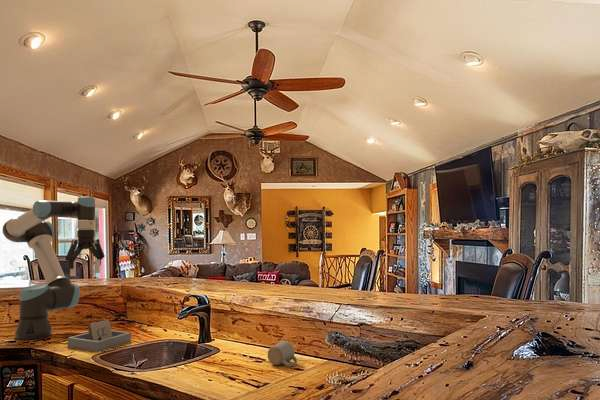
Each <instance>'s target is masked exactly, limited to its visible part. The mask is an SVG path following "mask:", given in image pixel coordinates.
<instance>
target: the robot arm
mask: <svg viewBox="0 0 600 400" xmlns="http://www.w3.org/2000/svg"><path fill="white" fill-rule="evenodd" d="M50 218H77V219H76V220H77V222H76V223H77V226H76V227H77V228H76V229H78V230H77V232H76V233H77V235H76V237H77V239H72V240H71V244H70V247H69V249H68V250H67V254H66V256H65V258H64V260H65V261H66V262H68V268H69V271H70V273H69V276H70V277H76V275H77V271H76V270H77V262H76V259H77V258H78V256H79V255H80V253H81V252H82V251H83V250H90V252H91V253H92V255H93V256H94V258H95V259H94V274H100V273H101V266H102V265H101V263H102V260H103V259H104V258H105V254H104V251H103V247H102V246H101V243H100V241H101V240H100V239H99V238H95V235H96V234H95V233H96V232H95V227H96V224H95V223H96V222H95V220H96V219H95V218H96V198H95V197H94V196H78V198H77V201H76V200H75V201H71V200H69V201H67V200H46V199H45V200H44V199H43V200H36V201H34V203H33V204H32V208H31V209H29V210H28V211H26V212H25V213H23V214H21V215H20V216H18V217H13V218H10V219H8V220H7V221H6V222H5V223H4V224H3V225H2V234H3V236H4V238H6V239H7V240H8V241H10V242H14V243H27V246H28V247H29V248H30V249H32V250H33V252H34V254H35V257H36V259H37V261H38V264H39V267H40V270H41V272H42V275H43V278H44V279H45V280H44V281H45V282H46V283H43V284H42V283H40V284H33V285H30V286H26V287H24V288H22V289H21V290H20V291H19V292H20V293H19V300H18V301H19V321H18V324H17V327H16V329H15V331H14V339H15V340H19V341H20V340H21V341H24V340H26V341H28V340H29V341H30V340H36V339H38V340H39V339H43V338H47V337H50V336H51V335H52V334H53V333H52V331H53V329H52V327H51V324H50V321H49V318H48V317H49V316H48V315H49V312H52V311H57V310H58V311H59V310H63V309H69V308H73V307H76V306H77V304H78V303H79V301H80V296H81V290H80V286H79V284H77V283H74V282H73V283H72V281H71V279H70V278H69V277H66V276H65V274H64V271H63V269H62V266H61V264H60V262H59V259H58V257H57V254H56V252H55V250H54V247H53V244H52V241H53V239H54V237H55V228H54V226H53V224H52V222H50V221H49V220H48V219H50Z"/></svg>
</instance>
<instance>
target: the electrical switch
mask: <svg viewBox="0 0 600 400" xmlns="http://www.w3.org/2000/svg"><path fill="white" fill-rule="evenodd" d="M111 326H112V325H111V322H110V320H109V319H105V320H100V321H97V322H92V323H91V322H90V325H87V328H88V329H87V330H88V332H89V336H90V340H93V341H101V340H104V339H108V338H111V337H112V331H111V330H112V327H111ZM91 332H92V333H91ZM91 334H92V335H91Z"/></svg>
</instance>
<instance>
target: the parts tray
mask: <svg viewBox="0 0 600 400" xmlns="http://www.w3.org/2000/svg"><path fill="white" fill-rule="evenodd" d="M111 331H112V337H111V338H108V339H104V340H101V341H93V340H90V336H89V331H87V332H85V333H81V334H77V335H73V336H70V337H67V348H69V347H70V348H71V349H77V350H82V349H83V350H82V351H89V352H93V353H94V352H95V353H100V352H102V351H103V352H104V351H106V350H109V349H112V348H116V347H118V346H121V345H124V344H129V343H132V332H128V331H121V330H113V329H111ZM91 333H92V332H91ZM91 335H92V334H91Z"/></svg>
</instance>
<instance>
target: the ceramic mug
mask: <svg viewBox="0 0 600 400" xmlns="http://www.w3.org/2000/svg"><path fill="white" fill-rule="evenodd" d="M267 359H268V361H269V363H270V364H272V365H273V366H281V365H285V366H287V367H289V368H292V367H291V366H294V367H295V365H297V363H298V359H297V357H296V356H295V348H294V346H293V344H292V343H291V342H289V341H288V340H281V341H279V342H278V343H275V344H274V345H272V346H271V347H269V349H268V351H267ZM290 361H294V362H290Z"/></svg>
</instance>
